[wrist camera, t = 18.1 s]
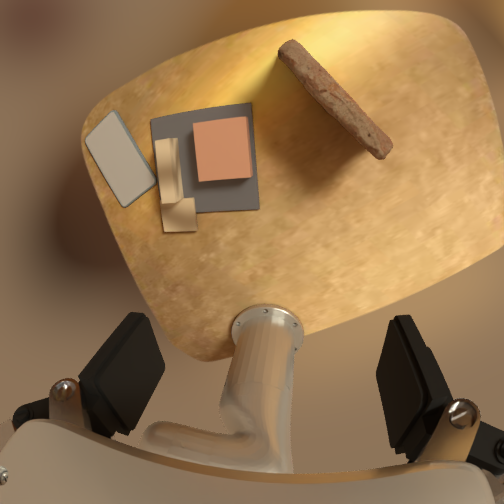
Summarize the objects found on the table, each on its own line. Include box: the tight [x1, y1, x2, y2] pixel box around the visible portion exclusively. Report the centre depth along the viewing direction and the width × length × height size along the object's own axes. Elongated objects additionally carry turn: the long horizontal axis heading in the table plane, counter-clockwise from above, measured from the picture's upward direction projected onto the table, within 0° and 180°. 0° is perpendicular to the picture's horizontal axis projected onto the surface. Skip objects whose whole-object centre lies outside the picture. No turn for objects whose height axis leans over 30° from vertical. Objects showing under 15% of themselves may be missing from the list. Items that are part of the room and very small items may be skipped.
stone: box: [278, 39, 393, 160], centre depth 27 cm, size 19×10×4 cm
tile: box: [193, 116, 253, 182], centre depth 35 cm, size 2×7×8 cm
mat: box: [151, 103, 260, 212], centre depth 37 cm, size 15×15×1 cm
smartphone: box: [85, 110, 157, 207], centre depth 39 cm, size 8×1×15 cm
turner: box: [155, 138, 198, 232], centre depth 37 cm, size 14×6×3 cm, turn 3°
